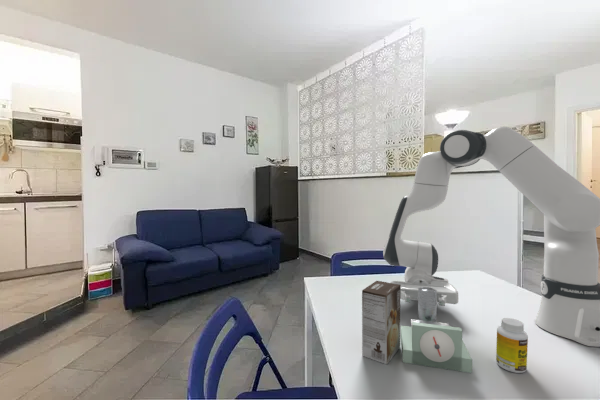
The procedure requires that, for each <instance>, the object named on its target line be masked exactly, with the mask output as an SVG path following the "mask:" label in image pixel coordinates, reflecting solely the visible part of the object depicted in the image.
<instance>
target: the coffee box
mask: <svg viewBox="0 0 600 400" xmlns="http://www.w3.org/2000/svg"><path fill="white" fill-rule="evenodd" d="M400 286H401V285H399V284H393V283H391V282H387V281H382V280H381V281H380V280H376V281H374V282H372V283H371V284H369V285H368V286H366V287H365V288H363V289H361V291H362V293H361V301H362V302H361V305H362V307H361V309H362V312H361V315H362V316H361V325H362V326H361V333H362V335H361V336H362V337H361V339H362V340H361V341H362V342H361V350H362V351H361V353H362V357H364V358H368V359H370V360H373V361H376V362H378V363H381V364H384V365H388V364H389V363H390V362H391V360H392V359H393V358H394V357H395V355H396V354H397V352H398V351H399V349H400V348H401V299H400Z"/></svg>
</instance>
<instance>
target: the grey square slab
mask: <svg viewBox="0 0 600 400" xmlns="http://www.w3.org/2000/svg"><path fill="white" fill-rule="evenodd" d="M412 322H417V323H425V324H434V325H442V326H450V324H449V322H447V323H446V322H439V321H436V322H431V321H422V320H418V319H413V318H411V319H410V325H411V326H410V327H412Z"/></svg>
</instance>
